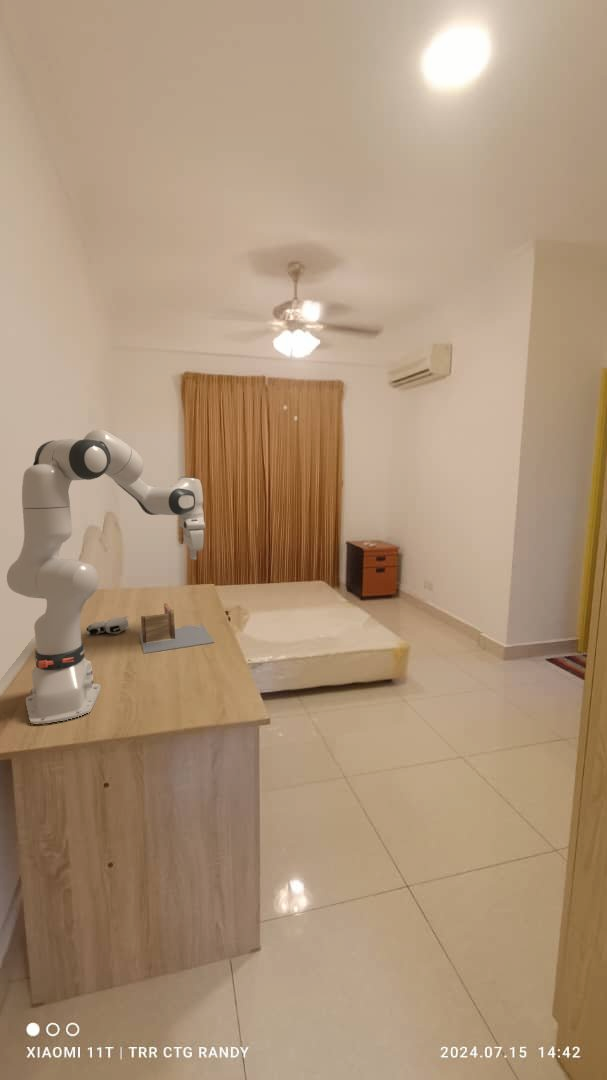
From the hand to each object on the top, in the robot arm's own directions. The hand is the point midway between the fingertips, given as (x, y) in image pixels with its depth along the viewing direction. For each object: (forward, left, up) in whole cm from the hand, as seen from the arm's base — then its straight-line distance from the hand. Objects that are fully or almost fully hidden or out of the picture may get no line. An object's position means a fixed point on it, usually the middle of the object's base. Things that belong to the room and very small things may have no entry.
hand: (193, 559), depth 175 cm
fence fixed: (-1, +14, -29) cm, 32 cm away
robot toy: (+17, +31, -30) cm, 46 cm away
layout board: (0, +8, -29) cm, 30 cm away
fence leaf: (+6, +9, -29) cm, 31 cm away
